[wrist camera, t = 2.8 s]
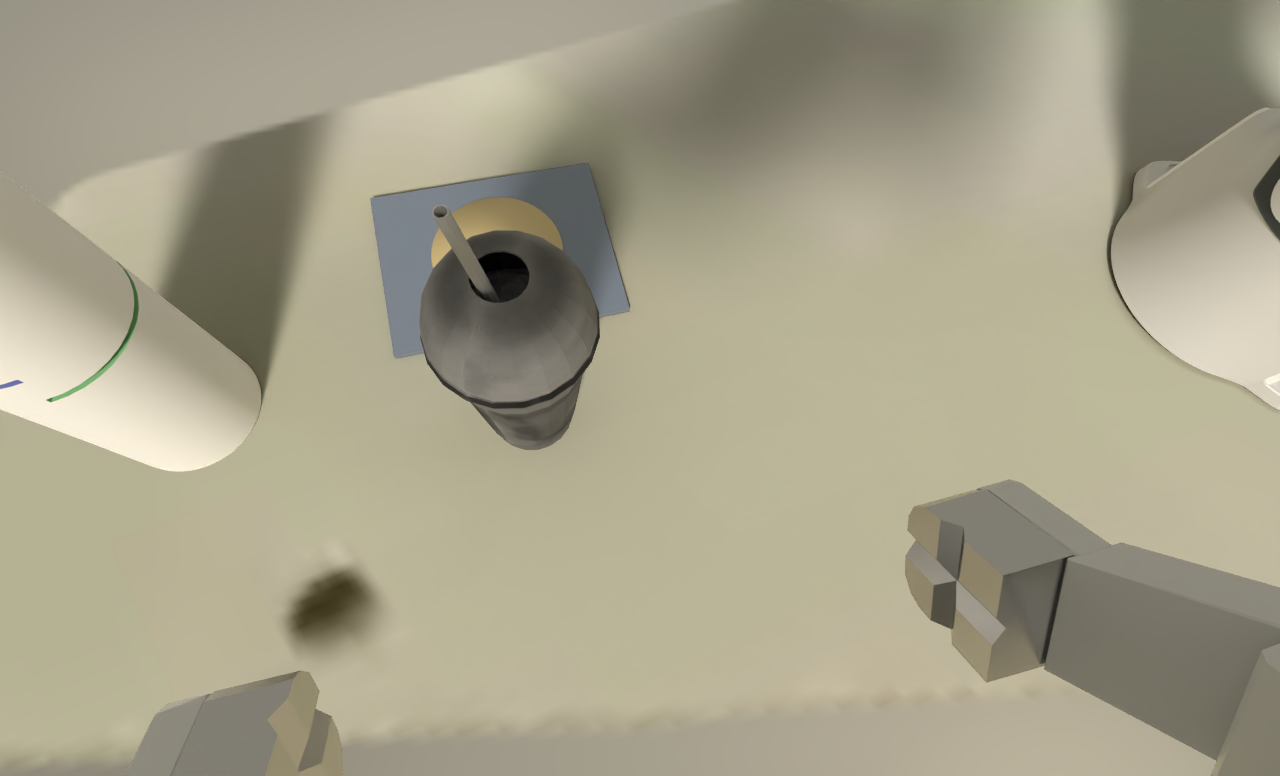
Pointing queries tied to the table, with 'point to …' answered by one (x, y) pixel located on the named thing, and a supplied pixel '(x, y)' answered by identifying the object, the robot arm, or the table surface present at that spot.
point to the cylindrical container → (109, 350)
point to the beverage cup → (509, 330)
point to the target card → (519, 202)
